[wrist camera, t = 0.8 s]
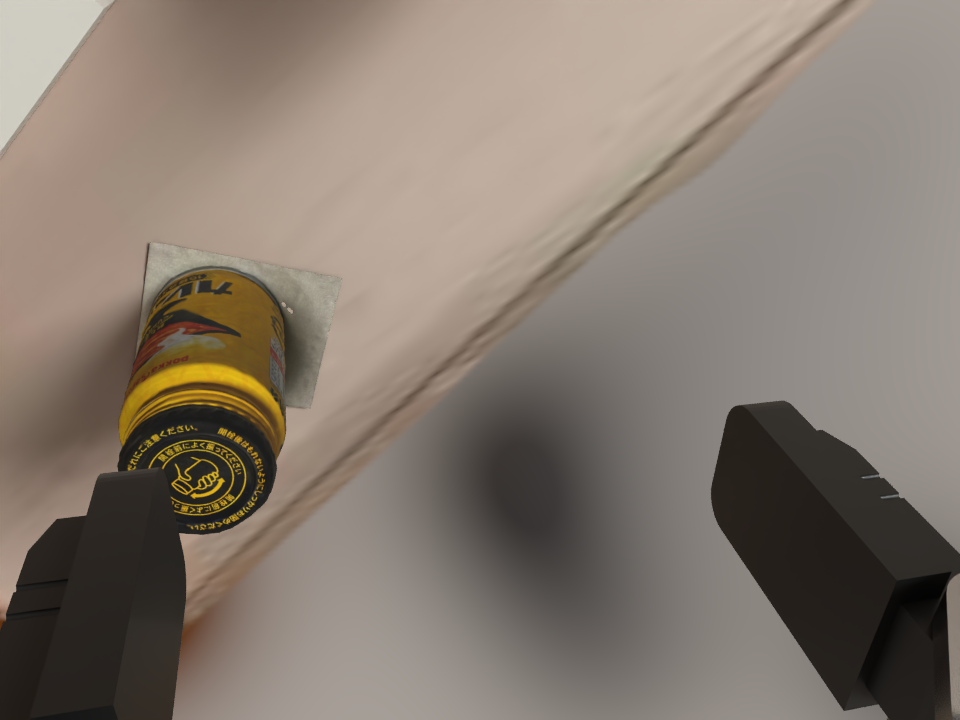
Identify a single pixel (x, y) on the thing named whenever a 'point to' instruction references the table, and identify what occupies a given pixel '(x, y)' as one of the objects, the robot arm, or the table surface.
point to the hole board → (38, 52)
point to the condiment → (220, 377)
